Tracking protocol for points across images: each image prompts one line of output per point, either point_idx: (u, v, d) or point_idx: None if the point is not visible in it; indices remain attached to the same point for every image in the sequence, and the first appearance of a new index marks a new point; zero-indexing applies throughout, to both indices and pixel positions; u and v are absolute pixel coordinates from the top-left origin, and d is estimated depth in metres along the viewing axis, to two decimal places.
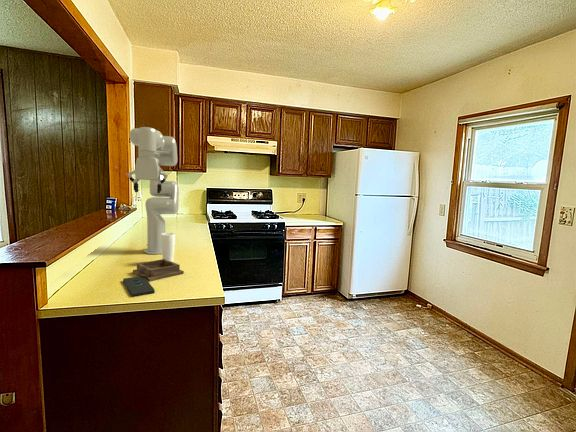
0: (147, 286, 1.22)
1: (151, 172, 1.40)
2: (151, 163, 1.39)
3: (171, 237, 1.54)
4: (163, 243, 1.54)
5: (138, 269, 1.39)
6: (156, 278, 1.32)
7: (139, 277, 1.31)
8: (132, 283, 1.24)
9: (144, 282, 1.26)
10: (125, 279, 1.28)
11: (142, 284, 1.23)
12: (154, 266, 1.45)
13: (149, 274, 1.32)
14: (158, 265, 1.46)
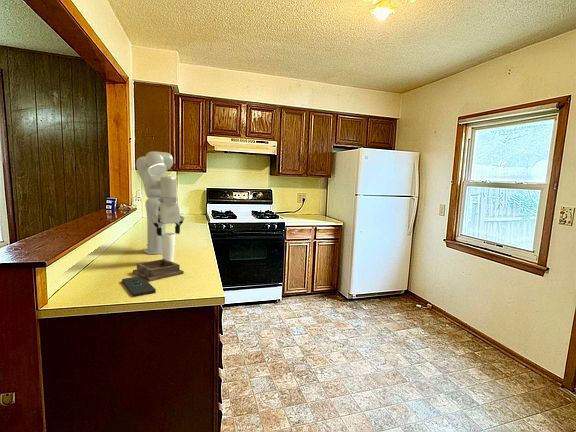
0: (147, 285, 1.22)
1: None
2: None
3: (171, 237, 1.54)
4: (163, 243, 1.54)
5: (138, 269, 1.39)
6: (156, 278, 1.32)
7: (138, 277, 1.31)
8: (132, 283, 1.23)
9: (144, 282, 1.26)
10: (123, 279, 1.27)
11: (142, 284, 1.23)
12: (154, 266, 1.45)
13: (149, 274, 1.32)
14: (158, 265, 1.46)
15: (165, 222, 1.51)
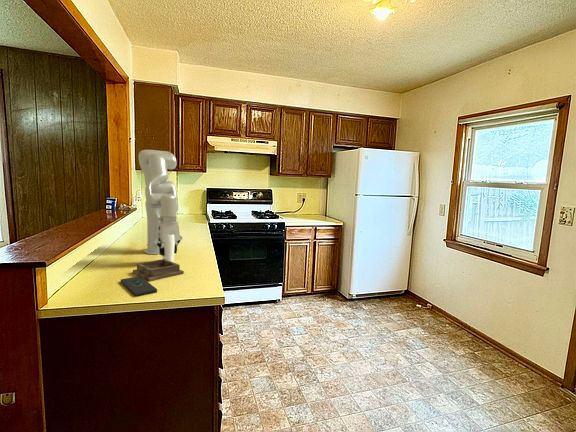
0: (148, 285, 1.22)
1: None
2: None
3: (170, 237, 1.54)
4: None
5: (138, 269, 1.39)
6: (156, 278, 1.32)
7: (136, 277, 1.30)
8: (131, 283, 1.23)
9: (143, 282, 1.26)
10: (122, 280, 1.27)
11: (142, 284, 1.23)
12: (154, 266, 1.45)
13: (149, 274, 1.32)
14: (158, 265, 1.46)
15: (165, 241, 1.53)
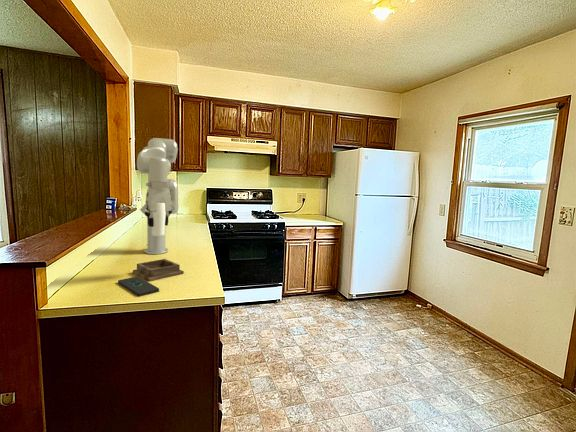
0: (148, 285, 1.22)
1: None
2: None
3: (160, 206, 1.35)
4: None
5: (138, 269, 1.39)
6: (156, 278, 1.32)
7: (134, 278, 1.30)
8: (131, 284, 1.23)
9: (142, 282, 1.26)
10: (120, 280, 1.26)
11: (142, 284, 1.23)
12: (154, 266, 1.45)
13: (149, 274, 1.32)
14: (158, 265, 1.46)
15: (154, 210, 1.33)
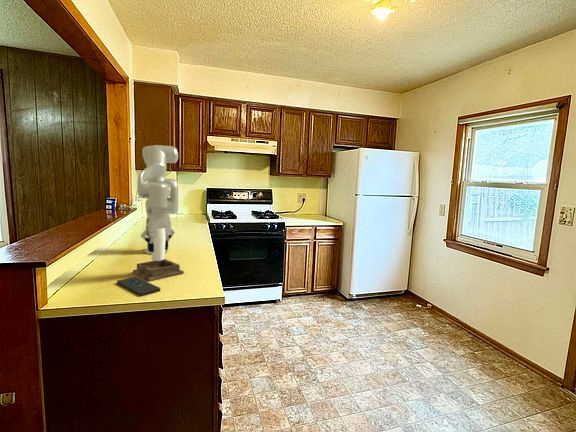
0: (149, 285, 1.23)
1: None
2: None
3: (161, 231, 1.36)
4: None
5: (138, 269, 1.39)
6: (156, 278, 1.32)
7: (133, 278, 1.29)
8: (131, 284, 1.23)
9: (142, 282, 1.26)
10: (119, 281, 1.25)
11: (142, 284, 1.23)
12: (154, 266, 1.45)
13: (149, 274, 1.32)
14: (158, 265, 1.46)
15: (154, 235, 1.34)
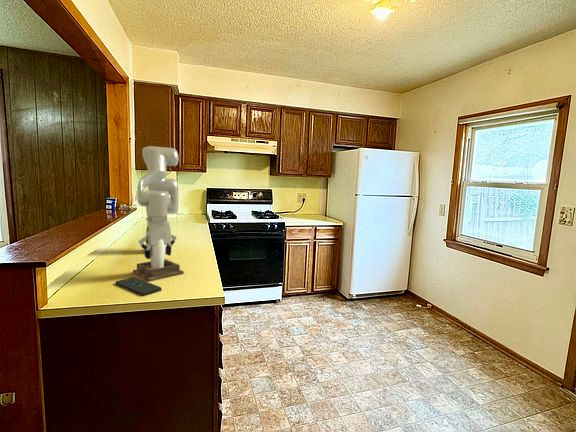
0: (149, 285, 1.23)
1: None
2: None
3: (160, 242, 1.37)
4: (151, 249, 1.36)
5: (138, 269, 1.39)
6: (156, 278, 1.32)
7: (131, 278, 1.29)
8: (131, 284, 1.22)
9: (142, 282, 1.26)
10: (117, 281, 1.25)
11: (142, 284, 1.23)
12: None
13: (149, 274, 1.32)
14: None
15: (154, 244, 1.35)
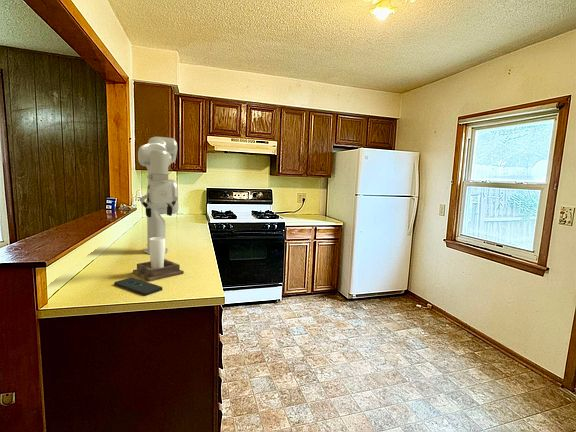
0: (149, 284, 1.23)
1: None
2: None
3: (160, 242, 1.37)
4: (151, 249, 1.36)
5: (138, 269, 1.39)
6: (156, 278, 1.32)
7: (130, 279, 1.28)
8: (130, 284, 1.22)
9: (141, 282, 1.26)
10: (116, 282, 1.24)
11: (142, 284, 1.23)
12: None
13: (149, 274, 1.32)
14: None
15: (155, 202, 1.34)
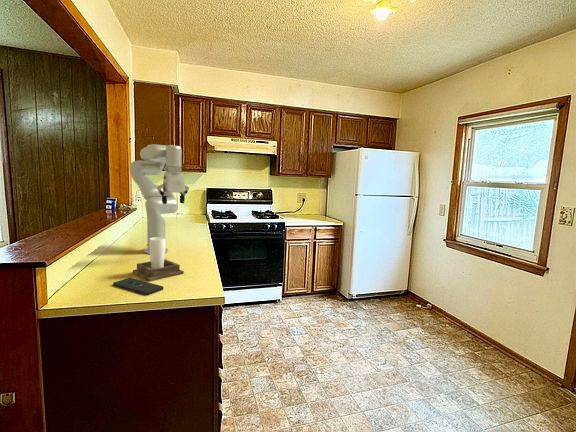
0: (150, 284, 1.23)
1: None
2: None
3: (160, 242, 1.37)
4: (151, 249, 1.36)
5: (138, 269, 1.39)
6: (156, 278, 1.32)
7: (128, 279, 1.28)
8: (130, 285, 1.22)
9: (141, 282, 1.26)
10: (115, 282, 1.23)
11: (142, 284, 1.23)
12: None
13: (149, 274, 1.32)
14: None
15: (170, 190, 1.54)
